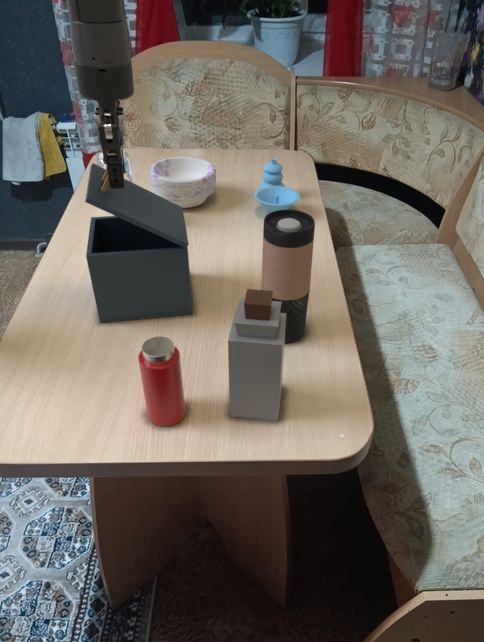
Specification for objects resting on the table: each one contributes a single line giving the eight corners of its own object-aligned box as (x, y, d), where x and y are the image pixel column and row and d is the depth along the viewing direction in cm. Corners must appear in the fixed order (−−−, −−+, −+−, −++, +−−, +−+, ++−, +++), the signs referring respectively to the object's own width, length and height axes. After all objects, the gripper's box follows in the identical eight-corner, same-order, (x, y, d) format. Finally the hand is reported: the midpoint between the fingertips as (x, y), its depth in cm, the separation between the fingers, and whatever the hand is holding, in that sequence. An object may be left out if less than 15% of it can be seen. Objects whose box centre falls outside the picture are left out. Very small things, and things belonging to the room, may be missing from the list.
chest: (100, 323, 91) (85, 256, 83) (103, 280, 102) (91, 217, 94) (192, 314, 94) (187, 248, 86) (186, 273, 104) (181, 211, 96)
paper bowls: (222, 210, 126) (221, 177, 121) (156, 216, 123) (152, 182, 118) (211, 185, 137) (209, 153, 132) (150, 189, 134) (146, 157, 129)
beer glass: (107, 231, 117) (95, 162, 107) (106, 217, 122) (95, 150, 112) (140, 228, 118) (131, 160, 108) (138, 215, 123) (129, 148, 114)
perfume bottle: (236, 383, 81) (235, 280, 69) (281, 387, 80) (288, 284, 69) (229, 416, 75) (227, 310, 64) (278, 421, 75) (284, 315, 64)
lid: (85, 202, 78) (99, 169, 76) (90, 167, 88) (103, 137, 86) (186, 248, 86) (202, 220, 83) (180, 211, 96) (195, 185, 93)
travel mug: (296, 314, 95) (304, 206, 82) (312, 340, 89) (324, 228, 76) (254, 321, 93) (256, 212, 80) (268, 348, 87) (272, 235, 75)
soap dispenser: (301, 223, 122) (304, 184, 116) (255, 224, 121) (255, 185, 115) (291, 190, 136) (293, 154, 130) (249, 191, 135) (250, 154, 129)
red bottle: (140, 418, 75) (128, 351, 67) (162, 395, 78) (153, 329, 71) (171, 431, 73) (162, 364, 65) (192, 407, 77) (186, 341, 69)
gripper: (77, 46, 78) (95, 163, 88) (68, 69, 67) (90, 200, 78) (131, 47, 79) (142, 162, 90) (131, 70, 68) (143, 198, 79)
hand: (117, 179), depth 84 cm, fingers closed on lid, 5 cm apart
